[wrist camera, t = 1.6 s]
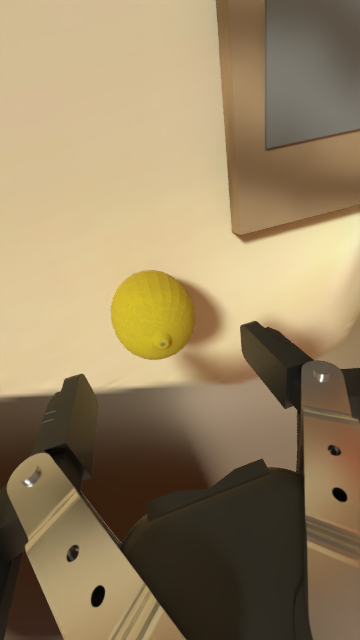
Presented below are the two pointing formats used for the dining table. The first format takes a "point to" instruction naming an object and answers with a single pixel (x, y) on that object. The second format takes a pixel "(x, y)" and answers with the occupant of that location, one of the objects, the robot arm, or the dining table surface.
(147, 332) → the lemon
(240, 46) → the serving board
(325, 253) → the dining table surface
